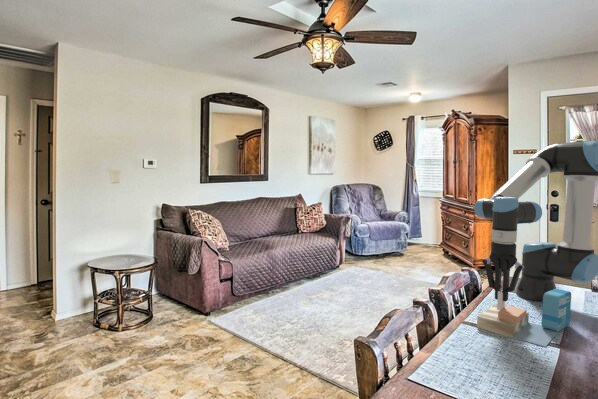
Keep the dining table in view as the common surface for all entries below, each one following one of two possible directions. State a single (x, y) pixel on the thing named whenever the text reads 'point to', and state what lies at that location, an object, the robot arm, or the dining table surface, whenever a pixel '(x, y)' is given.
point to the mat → (535, 334)
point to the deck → (500, 322)
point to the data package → (556, 309)
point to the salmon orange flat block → (512, 313)
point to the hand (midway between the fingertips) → (500, 309)
